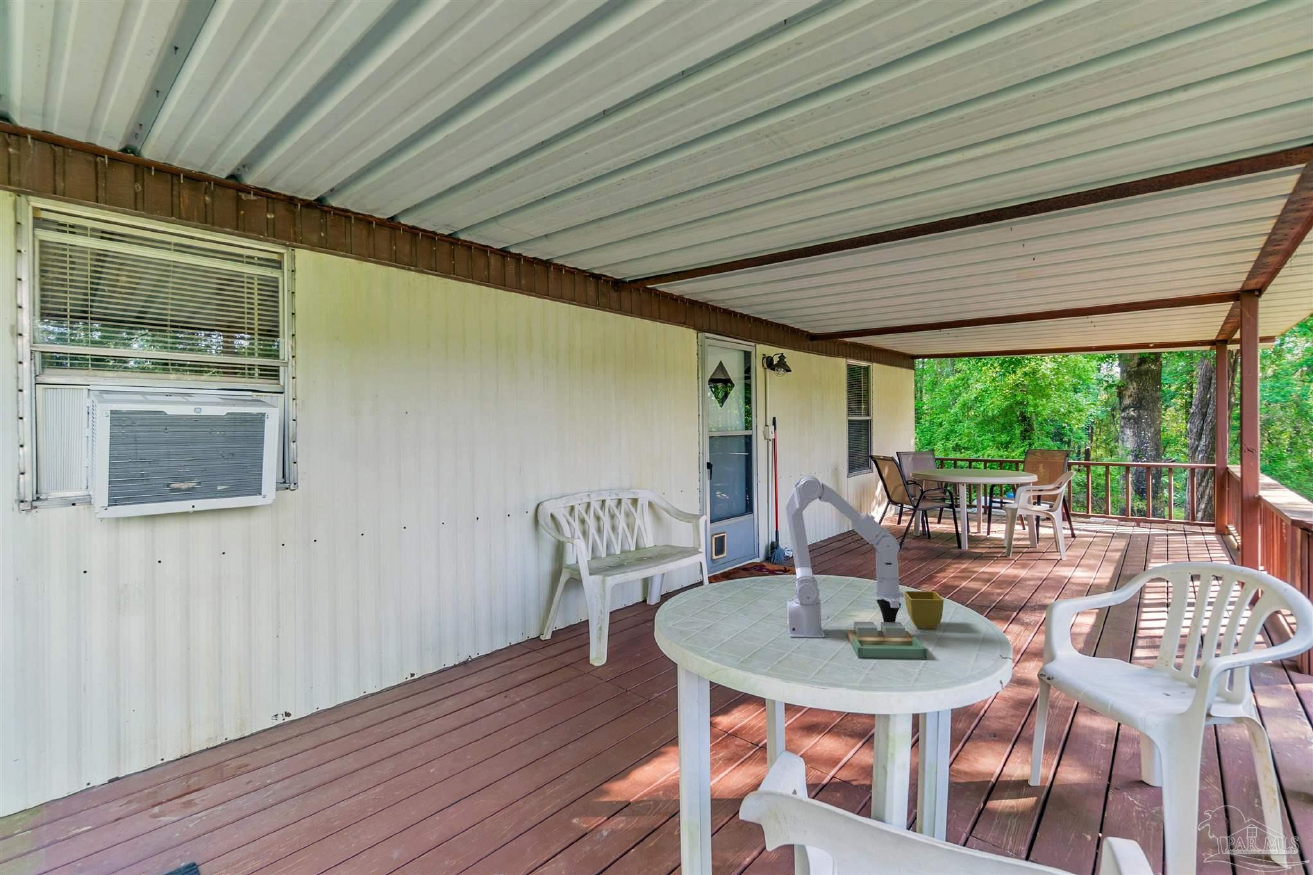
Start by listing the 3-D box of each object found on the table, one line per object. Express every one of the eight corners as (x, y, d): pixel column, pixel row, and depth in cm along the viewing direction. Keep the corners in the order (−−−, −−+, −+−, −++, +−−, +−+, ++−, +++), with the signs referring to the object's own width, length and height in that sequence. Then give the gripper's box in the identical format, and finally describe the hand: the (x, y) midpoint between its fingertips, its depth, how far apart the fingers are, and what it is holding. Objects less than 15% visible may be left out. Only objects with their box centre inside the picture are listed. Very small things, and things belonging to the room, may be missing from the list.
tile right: (885, 637, 151) (885, 627, 152) (881, 631, 156) (880, 621, 156) (905, 637, 151) (905, 628, 151) (900, 631, 156) (899, 622, 156)
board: (852, 646, 150) (851, 640, 150) (846, 635, 158) (846, 630, 158) (916, 647, 148) (916, 640, 148) (907, 636, 156) (907, 630, 156)
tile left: (857, 636, 153) (857, 627, 153) (854, 630, 158) (853, 621, 158) (877, 637, 152) (877, 627, 152) (873, 631, 157) (872, 621, 157)
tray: (858, 658, 142) (858, 648, 142) (852, 646, 150) (851, 636, 150) (927, 659, 140) (926, 649, 140) (916, 647, 148) (916, 637, 148)
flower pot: (945, 632, 159) (944, 599, 159) (911, 631, 160) (910, 598, 161) (936, 622, 167) (935, 591, 167) (904, 621, 169) (903, 590, 169)
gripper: (910, 583, 150) (912, 635, 149) (895, 571, 164) (897, 618, 164) (882, 583, 151) (884, 635, 150) (869, 571, 165) (871, 618, 165)
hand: (889, 627), depth 157 cm, fingers closed
